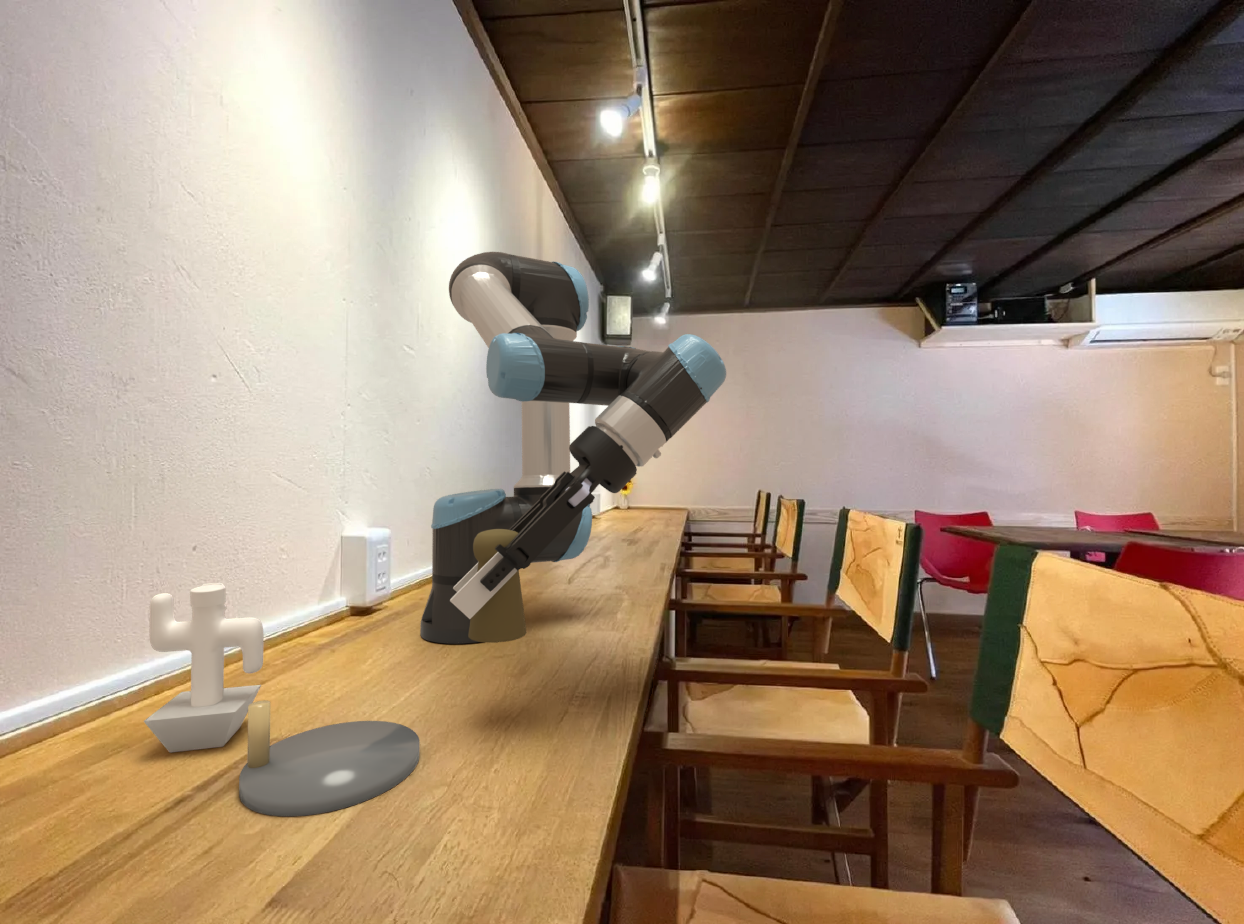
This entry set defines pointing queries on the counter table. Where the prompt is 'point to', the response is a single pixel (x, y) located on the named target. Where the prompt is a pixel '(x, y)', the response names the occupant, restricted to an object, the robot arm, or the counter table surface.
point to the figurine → (204, 669)
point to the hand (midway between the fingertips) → (461, 602)
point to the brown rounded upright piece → (498, 596)
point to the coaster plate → (323, 765)
